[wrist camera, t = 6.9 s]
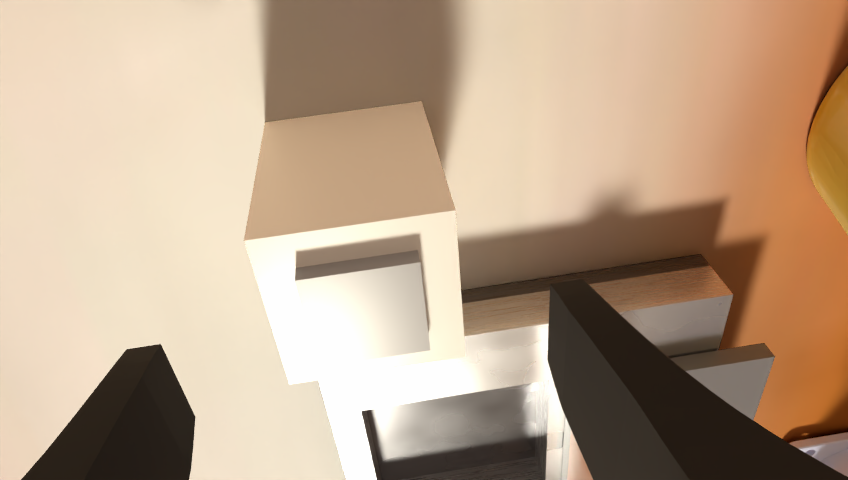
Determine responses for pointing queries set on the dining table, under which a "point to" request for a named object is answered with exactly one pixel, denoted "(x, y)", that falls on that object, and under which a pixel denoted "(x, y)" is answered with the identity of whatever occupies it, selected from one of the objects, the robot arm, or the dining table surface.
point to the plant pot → (831, 149)
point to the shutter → (718, 371)
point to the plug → (356, 243)
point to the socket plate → (508, 378)
